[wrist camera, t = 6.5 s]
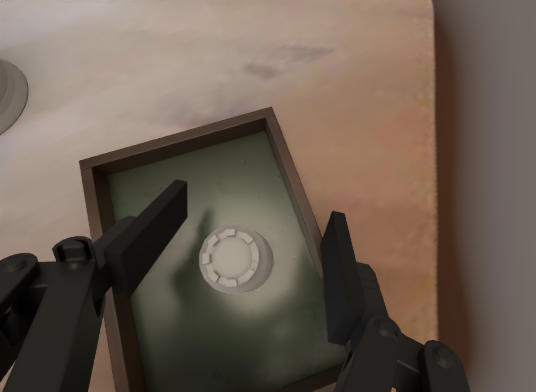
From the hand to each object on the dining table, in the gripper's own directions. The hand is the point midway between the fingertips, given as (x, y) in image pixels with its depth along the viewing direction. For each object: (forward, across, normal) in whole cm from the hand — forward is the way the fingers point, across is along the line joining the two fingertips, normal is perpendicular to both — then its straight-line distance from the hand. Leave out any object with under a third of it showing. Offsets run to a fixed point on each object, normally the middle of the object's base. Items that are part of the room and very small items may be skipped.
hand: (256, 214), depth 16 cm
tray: (0, -2, -5) cm, 5 cm away
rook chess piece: (+1, 0, -5) cm, 5 cm away
